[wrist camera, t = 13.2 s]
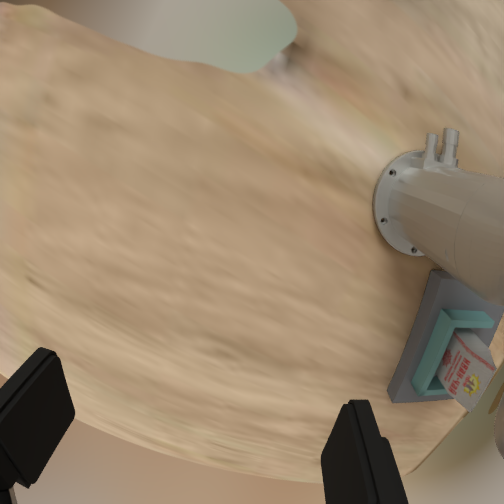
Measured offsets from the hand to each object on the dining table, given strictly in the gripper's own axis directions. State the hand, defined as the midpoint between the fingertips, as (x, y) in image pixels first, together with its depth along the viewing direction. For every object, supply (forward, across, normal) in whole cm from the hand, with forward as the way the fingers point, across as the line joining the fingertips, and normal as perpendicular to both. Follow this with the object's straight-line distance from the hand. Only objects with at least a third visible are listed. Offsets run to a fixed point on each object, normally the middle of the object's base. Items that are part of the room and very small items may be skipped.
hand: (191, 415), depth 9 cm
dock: (+28, -31, +13) cm, 44 cm away
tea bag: (+26, -30, +13) cm, 41 cm away
